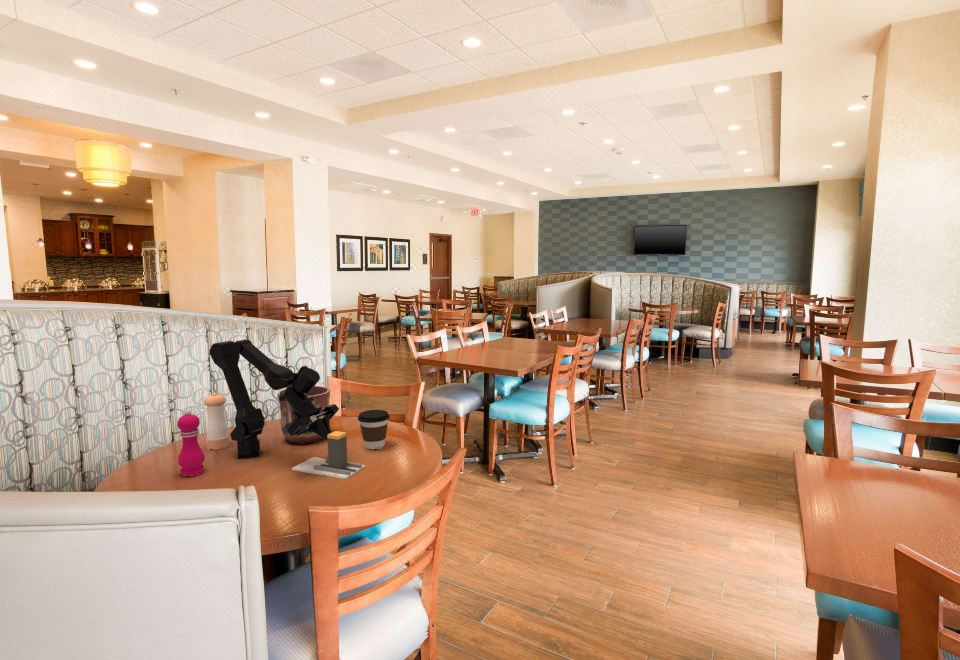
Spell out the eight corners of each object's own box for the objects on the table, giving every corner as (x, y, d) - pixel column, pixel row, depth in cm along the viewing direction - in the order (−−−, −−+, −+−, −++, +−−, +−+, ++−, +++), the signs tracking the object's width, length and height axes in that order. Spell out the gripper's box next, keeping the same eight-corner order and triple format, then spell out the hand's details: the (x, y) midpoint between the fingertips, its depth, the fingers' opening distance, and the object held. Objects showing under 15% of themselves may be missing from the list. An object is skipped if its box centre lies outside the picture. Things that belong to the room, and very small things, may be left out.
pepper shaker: (223, 449, 181) (219, 395, 179) (202, 449, 181) (198, 395, 179) (233, 442, 188) (230, 390, 186) (213, 442, 189) (209, 390, 186)
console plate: (292, 469, 163) (291, 464, 163) (313, 458, 172) (313, 454, 172) (345, 479, 156) (345, 474, 156) (364, 467, 165) (364, 462, 165)
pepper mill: (178, 479, 157) (173, 414, 154) (179, 471, 163) (174, 408, 160) (205, 474, 160) (200, 411, 157) (205, 466, 166) (201, 405, 164)
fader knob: (328, 469, 162) (327, 434, 160) (336, 464, 165) (335, 430, 164) (339, 471, 160) (338, 436, 159) (347, 466, 164) (346, 432, 162)
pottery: (286, 450, 180) (284, 399, 178) (275, 436, 195) (273, 389, 192) (337, 441, 190) (336, 392, 187) (323, 428, 204) (321, 383, 202)
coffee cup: (356, 444, 186) (354, 411, 184) (386, 440, 190) (385, 407, 189) (361, 454, 176) (360, 419, 174) (394, 449, 180) (393, 415, 179)
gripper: (306, 410, 176) (335, 446, 174) (265, 426, 159) (296, 466, 157) (324, 389, 173) (354, 425, 170) (284, 403, 155) (316, 443, 153)
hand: (330, 440), depth 162 cm, fingers closed
